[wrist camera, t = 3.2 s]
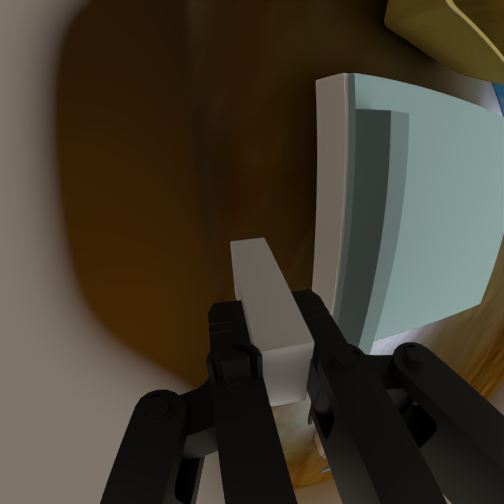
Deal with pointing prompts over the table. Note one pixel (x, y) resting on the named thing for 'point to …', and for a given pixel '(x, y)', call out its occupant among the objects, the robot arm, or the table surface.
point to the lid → (417, 208)
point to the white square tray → (331, 185)
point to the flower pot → (454, 33)
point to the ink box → (500, 94)
